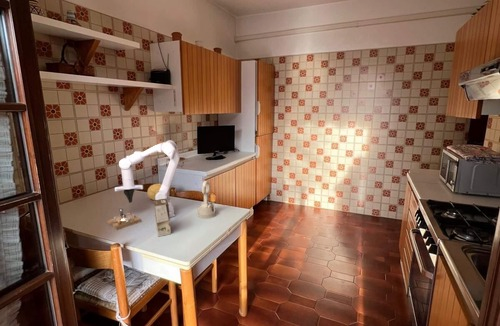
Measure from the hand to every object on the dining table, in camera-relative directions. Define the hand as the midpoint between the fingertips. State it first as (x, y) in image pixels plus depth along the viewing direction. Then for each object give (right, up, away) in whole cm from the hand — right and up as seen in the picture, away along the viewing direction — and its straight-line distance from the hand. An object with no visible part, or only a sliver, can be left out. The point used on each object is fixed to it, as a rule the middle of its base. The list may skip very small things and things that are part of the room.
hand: (130, 201), depth 151 cm
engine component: (+43, -8, +4) cm, 44 cm away
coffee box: (+24, -13, -16) cm, 32 cm away
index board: (-1, -11, -5) cm, 12 cm away
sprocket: (-1, -9, -5) cm, 10 cm away
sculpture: (+4, -3, +32) cm, 33 cm away
